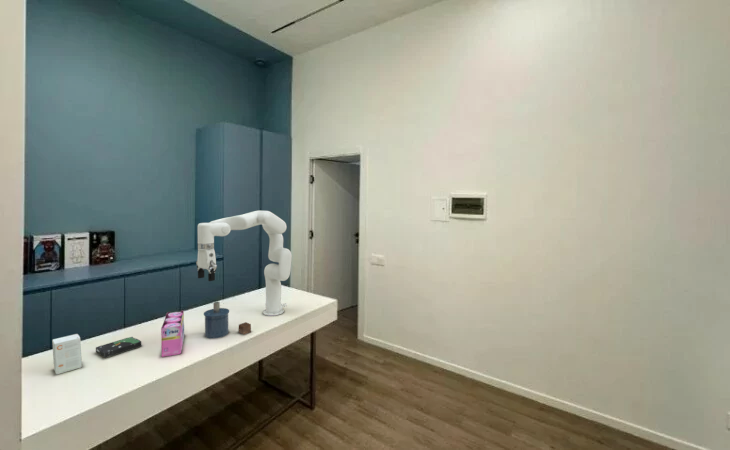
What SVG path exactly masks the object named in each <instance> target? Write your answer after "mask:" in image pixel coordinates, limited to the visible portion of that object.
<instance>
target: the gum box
mask: <svg viewBox="0 0 730 450" xmlns="http://www.w3.org/2000/svg"><path fill="white" fill-rule="evenodd" d="M184 312H185V311H184V310H180V311H174V312H171V311H167V312H166V314H165V317H164V320H163V323H162V325H161V328H160V343H161V344H160V345H161V347H160V348H161V358H163V357H164V358H165V357H170V356H171V357H172V356H176V355H180V354H182V350H183V346H184V341H185V340H184V339H185V315H184V314H185V313H184Z"/></svg>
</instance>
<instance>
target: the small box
mask: <svg viewBox="0 0 730 450" xmlns="http://www.w3.org/2000/svg"><path fill="white" fill-rule="evenodd" d="M81 339H82V338H81V337H80V335H79V334H78V333H74V334H70V335H66V336H61V337H58V338H53V339H52V340H51V341H52V356H53V360H52V361H53V370H54V373H55V375H60V374H63V373H66V372H71V371H73V370H77V369H80V368H82V367H83V361H82V360H83V359H82V357H83V356H82V343H81Z"/></svg>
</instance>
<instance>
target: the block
mask: <svg viewBox="0 0 730 450" xmlns="http://www.w3.org/2000/svg"><path fill="white" fill-rule="evenodd" d="M251 332H252V324H251V323H249V322H246V321H245V322H243V323H239V324H238V333H239V334H240V335H243V336H244V335H247V334H249V333H251Z"/></svg>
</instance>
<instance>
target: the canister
mask: <svg viewBox="0 0 730 450" xmlns="http://www.w3.org/2000/svg"><path fill="white" fill-rule="evenodd" d="M227 335H229V313H228V314H226V315H223V316H219V317H206V316H204V337H205V338H207V339H220V338H223V337H225V336H227Z"/></svg>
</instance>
